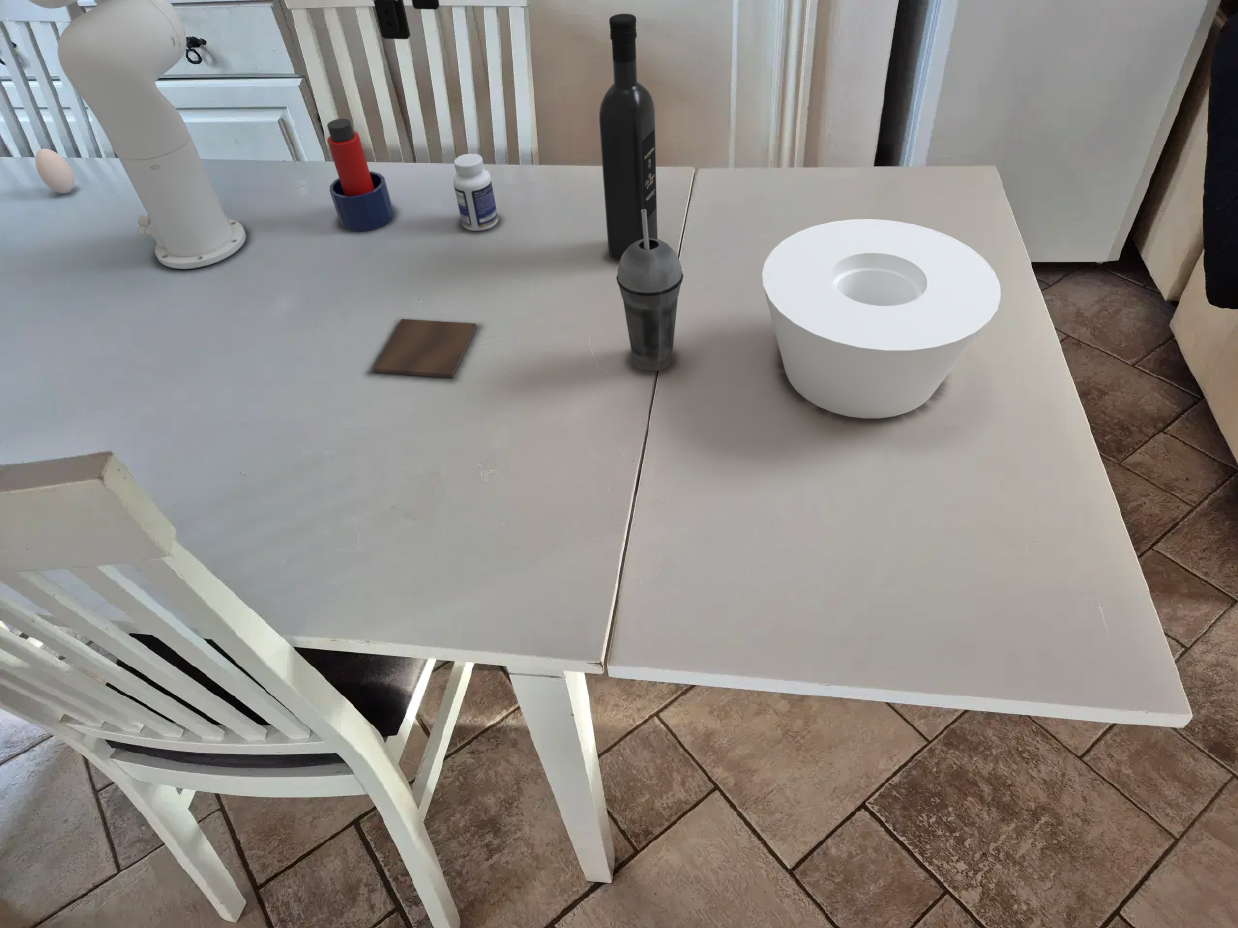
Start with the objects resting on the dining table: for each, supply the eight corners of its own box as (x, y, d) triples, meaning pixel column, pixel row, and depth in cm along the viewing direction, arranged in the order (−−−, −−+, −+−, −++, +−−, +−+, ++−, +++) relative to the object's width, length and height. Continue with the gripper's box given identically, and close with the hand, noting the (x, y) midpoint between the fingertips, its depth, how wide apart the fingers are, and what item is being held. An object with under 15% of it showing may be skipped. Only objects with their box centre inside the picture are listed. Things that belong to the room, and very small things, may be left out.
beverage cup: (690, 345, 98) (691, 191, 83) (673, 384, 93) (671, 227, 79) (632, 336, 100) (624, 183, 85) (613, 373, 95) (601, 218, 81)
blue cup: (332, 230, 121) (320, 196, 117) (353, 203, 127) (342, 170, 123) (382, 232, 120) (372, 198, 116) (401, 205, 126) (392, 172, 122)
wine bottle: (660, 245, 114) (655, 11, 92) (643, 266, 110) (635, 28, 89) (623, 238, 116) (610, 7, 94) (606, 258, 112) (588, 23, 90)
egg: (86, 191, 135) (62, 148, 129) (58, 202, 132) (32, 158, 127) (75, 182, 137) (51, 140, 132) (47, 193, 135) (21, 150, 130)
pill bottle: (501, 213, 122) (491, 150, 115) (494, 232, 119) (482, 168, 111) (466, 213, 123) (454, 151, 116) (458, 232, 119) (444, 169, 112)
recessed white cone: (961, 461, 82) (994, 370, 74) (731, 415, 89) (737, 326, 80) (977, 324, 98) (1006, 235, 89) (779, 293, 104) (788, 207, 96)
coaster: (373, 372, 98) (372, 368, 97) (402, 322, 104) (401, 318, 104) (452, 378, 96) (451, 374, 96) (477, 327, 103) (476, 323, 102)
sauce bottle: (347, 221, 122) (317, 130, 112) (358, 207, 125) (330, 116, 115) (374, 223, 121) (346, 130, 111) (385, 208, 124) (359, 117, 114)
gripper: (372, -177, 88) (408, -3, 100) (301, -143, 76) (351, 50, 89) (437, -178, 87) (466, -1, 99) (375, -144, 75) (416, 52, 88)
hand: (412, 22), depth 94 cm, fingers open, 9 cm apart
